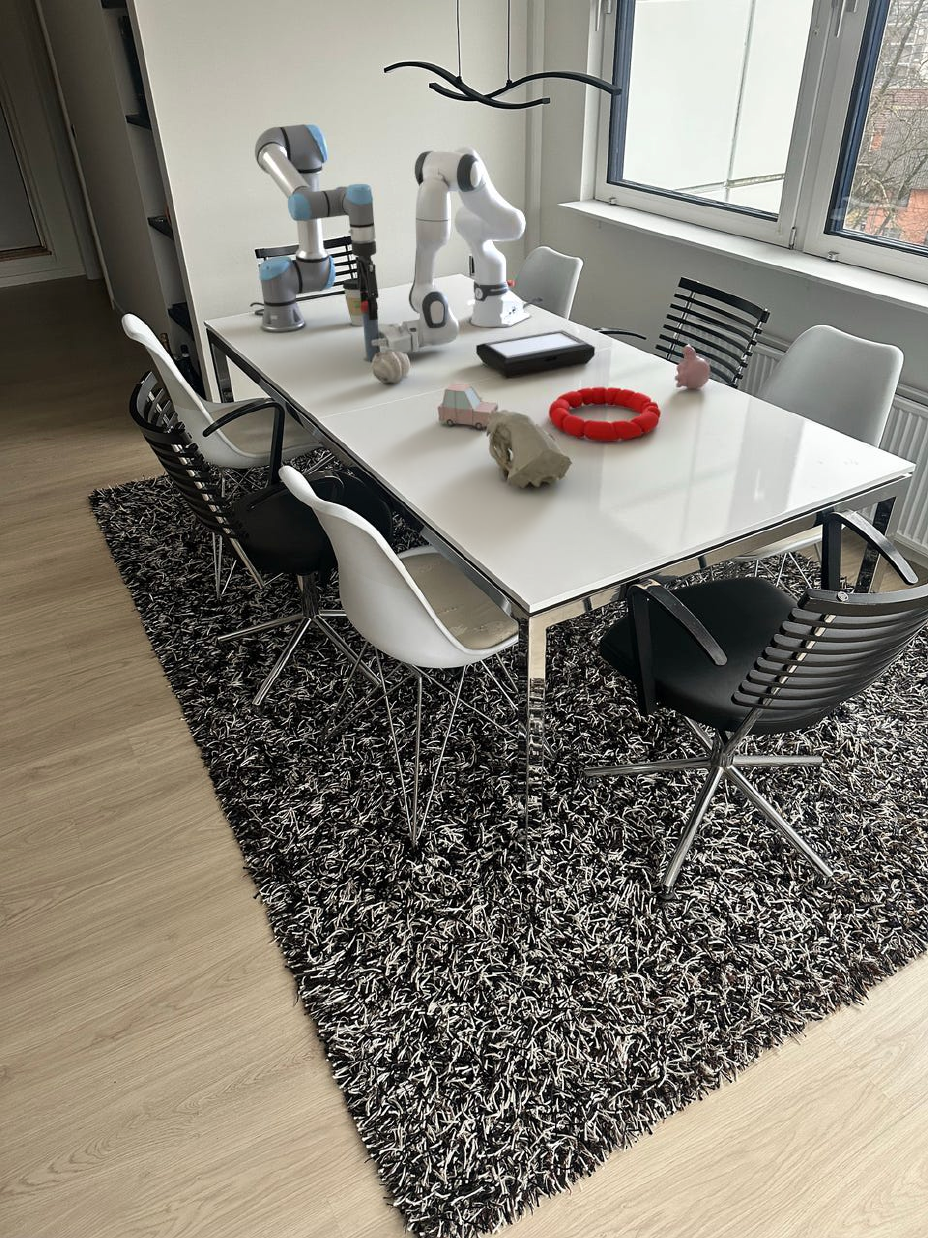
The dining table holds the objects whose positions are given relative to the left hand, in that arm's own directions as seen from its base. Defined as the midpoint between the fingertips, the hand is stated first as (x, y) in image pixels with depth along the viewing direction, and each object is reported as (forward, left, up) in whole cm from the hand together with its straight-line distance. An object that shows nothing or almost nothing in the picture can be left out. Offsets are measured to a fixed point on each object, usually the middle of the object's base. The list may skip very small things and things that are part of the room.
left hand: (369, 316), depth 286 cm
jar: (0, 0, -14) cm, 14 cm away
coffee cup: (-41, -1, -14) cm, 44 cm away
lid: (0, 0, +4) cm, 4 cm away
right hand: (0, -1, -8) cm, 8 cm away
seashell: (+24, +4, -14) cm, 28 cm away
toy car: (+62, +20, -14) cm, 67 cm away
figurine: (+52, +89, -14) cm, 104 cm away
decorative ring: (+70, +57, -14) cm, 91 cm away
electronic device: (+19, +50, -14) cm, 55 cm away
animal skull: (+95, +28, -14) cm, 100 cm away
